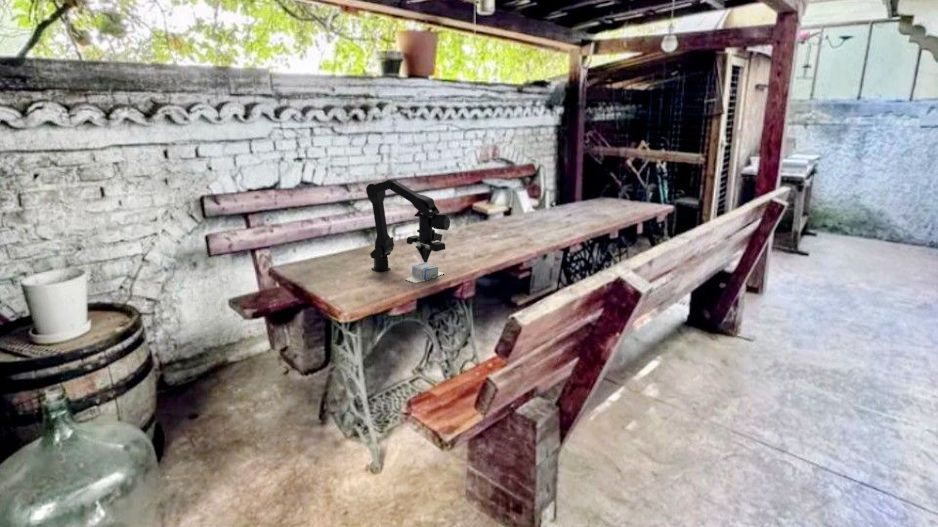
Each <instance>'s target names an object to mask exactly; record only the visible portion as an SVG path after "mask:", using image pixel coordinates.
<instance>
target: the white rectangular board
mask: <svg viewBox="0 0 938 527" xmlns="http://www.w3.org/2000/svg"><path fill="white" fill-rule="evenodd" d="M443 274H444V275H445V274H446V273H445V272H442V271H439V270H438V277H441V276H444V275H443ZM440 275H441V276H440ZM435 278H437V276H436V277H435ZM432 279H434V277H433V278H432ZM432 279H431V278H430V279H429V280H432ZM406 280H407V281H406ZM404 281H406V282H409V281H410V282H409V283H411V282H413V283H412V284H414V283H416V284H419V283H418V282H420V283H422V282H421V281H423V282H425V280H423V279H421V278H418V277H414V276H411V277H407V278H405V279H404ZM426 281H428V279H427V280H426Z"/></svg>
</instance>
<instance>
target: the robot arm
mask: <svg viewBox="0 0 938 527" xmlns="http://www.w3.org/2000/svg"><path fill="white" fill-rule="evenodd" d="M389 190H390V191H392V192H393V193H395V194H397V195H398V196H400V197H402V198H403V199H405V200H406V201H408V202H409V203H411V204H412V206H413V207H414V208H415V210H417V212H416V213H415V214H414V217H418V229H417V230H416V233H418V235H415V234H414V235H410V236H408V237H407V238H406V244H408V245H412V244H413V243H416V246H415V248H416V249H417V251H418V253H419V254H420V257H421V258H422V261H423V262H424V263H428V261H429V258H430V255H431V253H432V252H440V251H444V250H446V244H445V242H442V239H443V234H440V233H438V232H436V231H435V230H442V231H448V230H449V229H450V226H451V220H450V217H449V214H448V213H440V210H439V209H438V208H437V206H436V204H435V200H434V199H433V198H432V197H430V196H428V195H424V194H420V193H418V192H416V191H414V190H412V189H411V188H410V187H408V186H406V185H404V184H402V183H401V182H399V181H398V180H397V179H395V178H390V179H389V178H388V179H387V180H385V181H377V182H372V183H368V184H367V186H366V187H365V191H366V195H367V198H368V200H369V201H370V203H371V204H372V211H373V212H372V213H373V219H374V225H375V231H376V237H375V240H374V249H373V250H372V251H371V252H370V253H369V255H370V258H371V259H373V267H371V270H373V271H375V272H379V273H383V272H385V271H389V270H391V269H392V268H391V267H389V256H390V255H391V253H392V251H394V249H395V248H394V247H395V243H394V237H392V236H390V234H388V232H389V231H388V227H387V226H388V225H387V218H386V214H385V213H386V212H385V211H386V210H385V203H384V201H385V198H386V191H389Z"/></svg>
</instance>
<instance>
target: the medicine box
mask: <svg viewBox="0 0 938 527" xmlns="http://www.w3.org/2000/svg"><path fill="white" fill-rule="evenodd" d="M438 271H439V267H438V266H437V265H436V266H435V265H433V264H429V263H428V262H426V263H425V262H424V263H419V264H416V265H414V266H413V265H412V267H411V277H418V278H421V279H423V280H426V281H428V280H427V279H429V280H431V279H430V278H432V279H434V278H433V277H435V278H437V277H436V276H438ZM438 277H439V276H438Z"/></svg>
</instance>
